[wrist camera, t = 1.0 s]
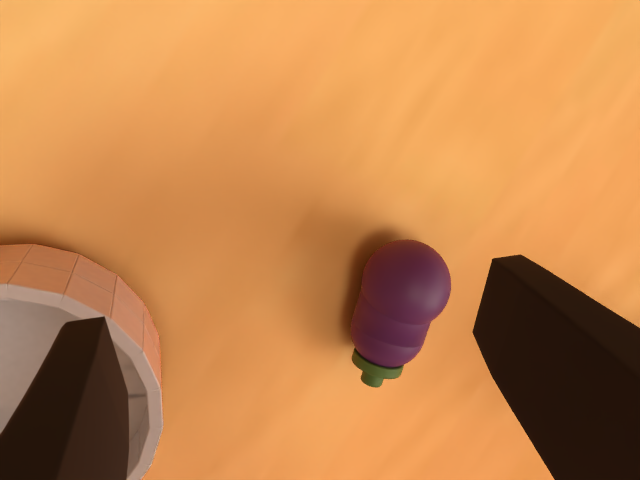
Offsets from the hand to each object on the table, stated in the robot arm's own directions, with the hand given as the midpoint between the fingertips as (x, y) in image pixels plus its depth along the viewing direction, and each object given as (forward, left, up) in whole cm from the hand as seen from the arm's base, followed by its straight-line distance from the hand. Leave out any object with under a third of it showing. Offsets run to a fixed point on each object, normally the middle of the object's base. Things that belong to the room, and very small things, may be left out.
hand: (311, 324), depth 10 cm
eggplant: (-11, -3, -17) cm, 21 cm away
